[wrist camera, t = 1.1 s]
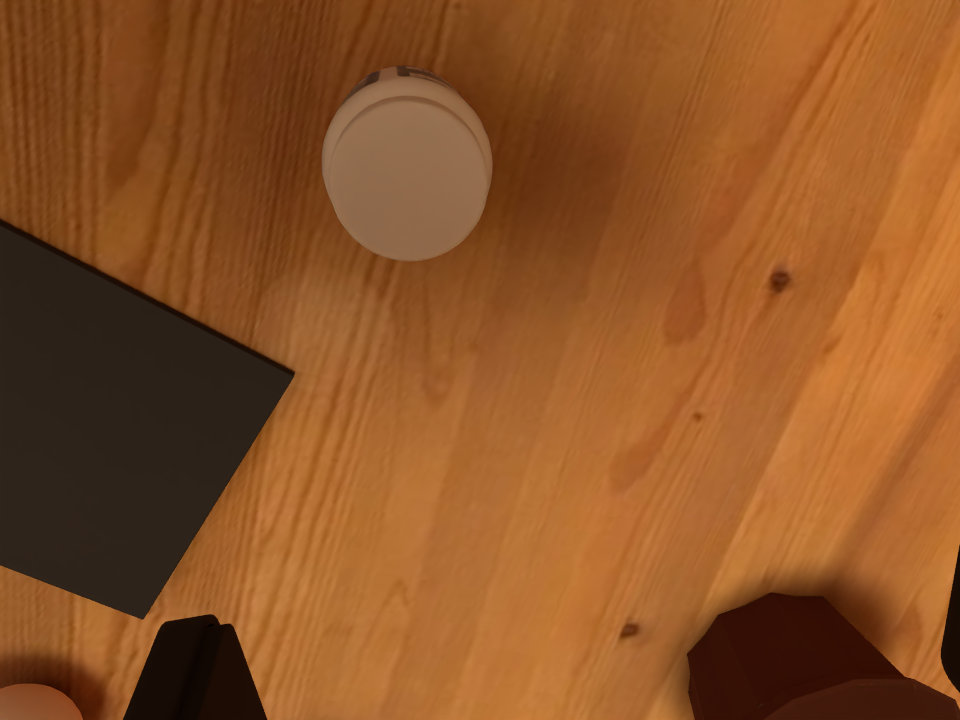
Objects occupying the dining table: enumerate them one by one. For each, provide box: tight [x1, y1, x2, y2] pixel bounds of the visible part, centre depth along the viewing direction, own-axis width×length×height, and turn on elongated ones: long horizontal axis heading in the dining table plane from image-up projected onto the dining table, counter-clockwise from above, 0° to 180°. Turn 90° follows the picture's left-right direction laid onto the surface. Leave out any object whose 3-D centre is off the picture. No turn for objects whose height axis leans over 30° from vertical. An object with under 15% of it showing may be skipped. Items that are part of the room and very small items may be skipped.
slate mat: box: [0, 220, 295, 619], centre depth 29 cm, size 14×14×1 cm
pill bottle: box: [322, 66, 493, 261], centre depth 22 cm, size 5×5×8 cm
